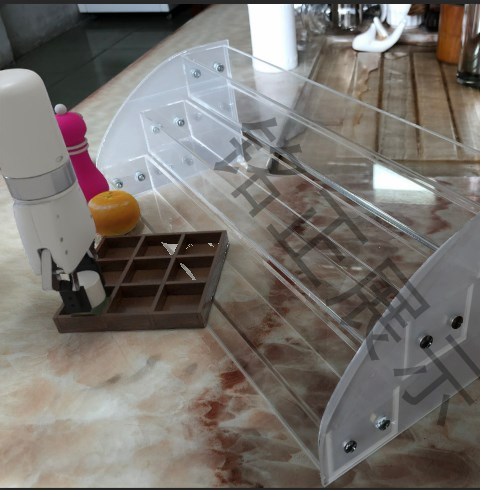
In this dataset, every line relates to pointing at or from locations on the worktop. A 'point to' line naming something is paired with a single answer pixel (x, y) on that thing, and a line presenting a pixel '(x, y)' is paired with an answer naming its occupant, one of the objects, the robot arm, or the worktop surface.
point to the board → (152, 282)
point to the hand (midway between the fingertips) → (87, 297)
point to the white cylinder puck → (92, 286)
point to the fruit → (114, 212)
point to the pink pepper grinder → (80, 153)
